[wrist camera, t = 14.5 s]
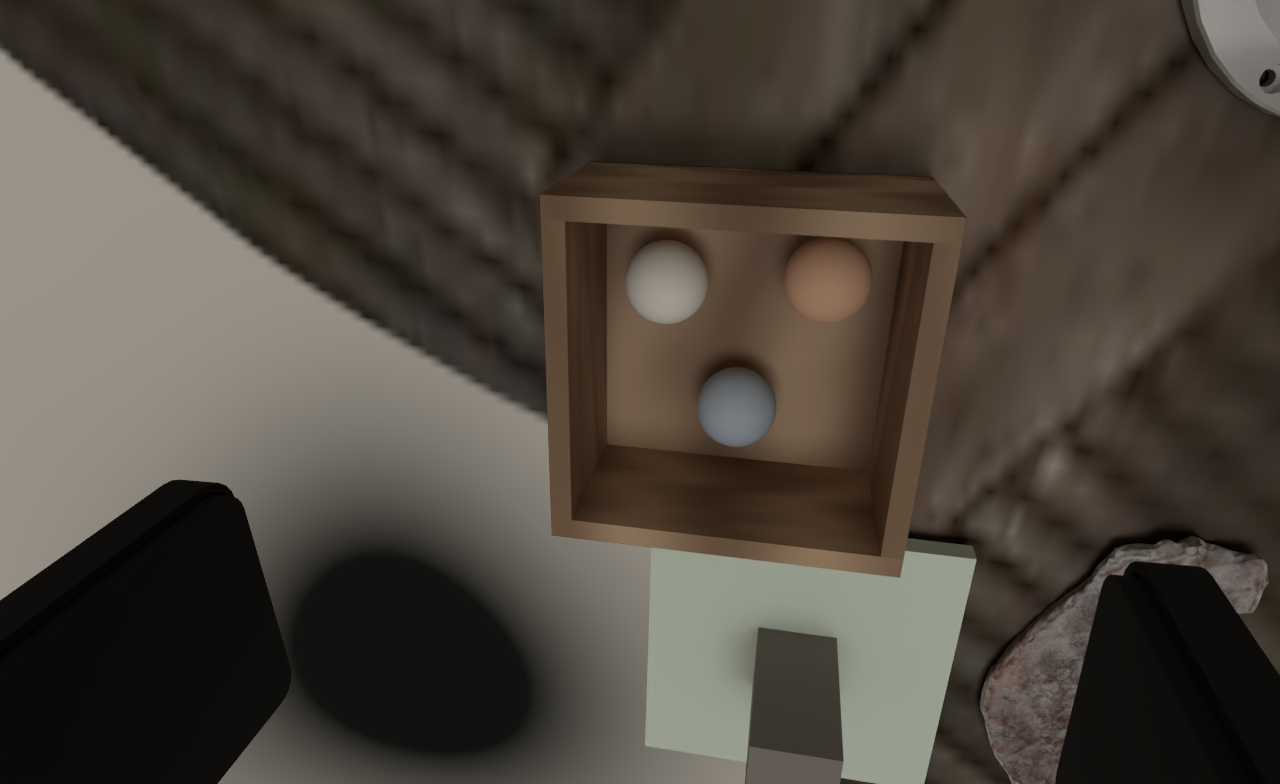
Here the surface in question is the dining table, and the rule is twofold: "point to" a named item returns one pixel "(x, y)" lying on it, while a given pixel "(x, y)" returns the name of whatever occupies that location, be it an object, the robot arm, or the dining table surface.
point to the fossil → (1083, 654)
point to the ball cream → (666, 281)
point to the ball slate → (736, 407)
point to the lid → (804, 663)
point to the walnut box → (743, 362)
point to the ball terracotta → (828, 280)
